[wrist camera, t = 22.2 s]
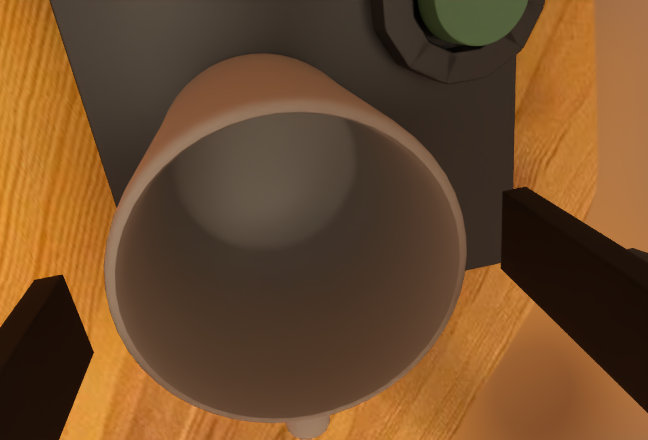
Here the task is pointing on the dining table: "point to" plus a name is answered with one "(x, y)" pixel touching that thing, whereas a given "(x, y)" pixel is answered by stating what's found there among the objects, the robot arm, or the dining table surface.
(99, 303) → the dining table surface
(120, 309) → the mug
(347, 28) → the scale
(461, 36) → the button
